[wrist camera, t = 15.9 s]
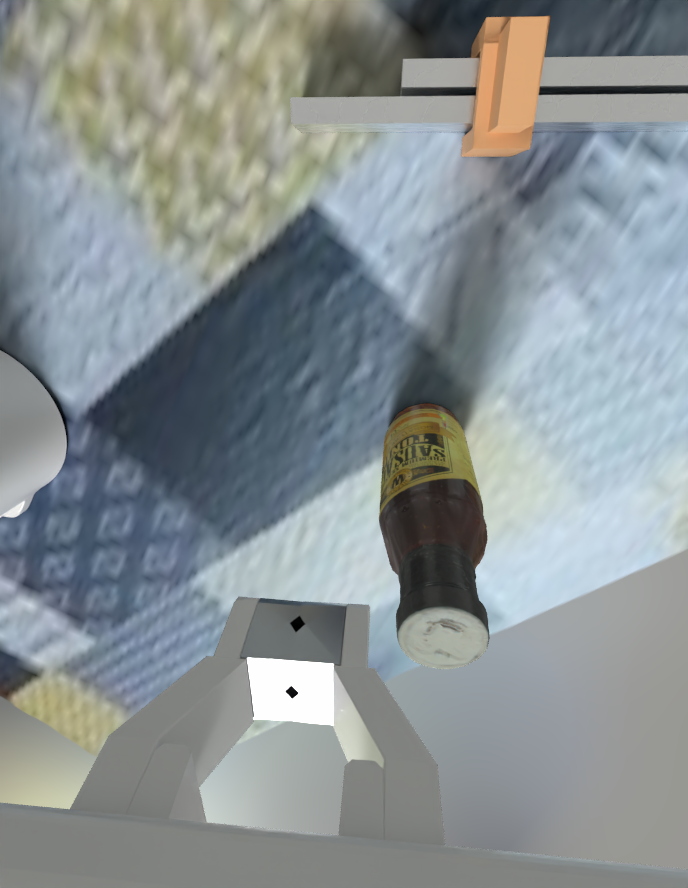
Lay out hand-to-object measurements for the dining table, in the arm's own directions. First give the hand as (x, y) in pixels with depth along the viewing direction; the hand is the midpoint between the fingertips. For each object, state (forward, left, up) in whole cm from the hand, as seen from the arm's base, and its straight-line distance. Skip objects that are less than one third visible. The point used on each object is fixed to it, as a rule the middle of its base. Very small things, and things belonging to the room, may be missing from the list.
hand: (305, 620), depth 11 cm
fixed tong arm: (+8, +13, -27) cm, 31 cm away
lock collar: (+7, +14, -27) cm, 31 cm away
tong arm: (+11, +15, -27) cm, 33 cm away
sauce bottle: (+5, -8, -27) cm, 29 cm away
